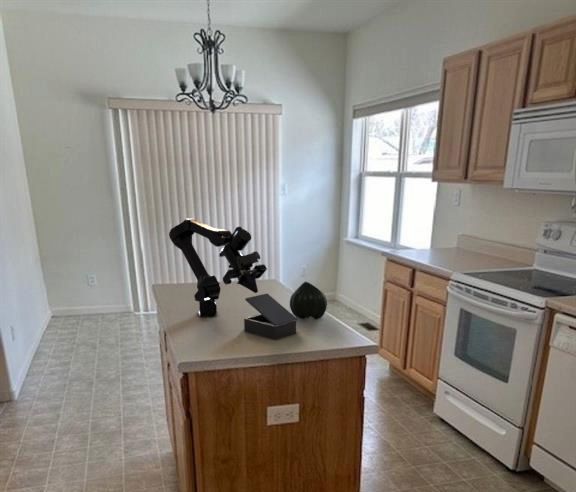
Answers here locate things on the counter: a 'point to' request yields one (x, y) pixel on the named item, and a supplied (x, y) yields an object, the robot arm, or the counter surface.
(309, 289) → the squash
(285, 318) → the cover
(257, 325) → the case
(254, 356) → the counter surface
